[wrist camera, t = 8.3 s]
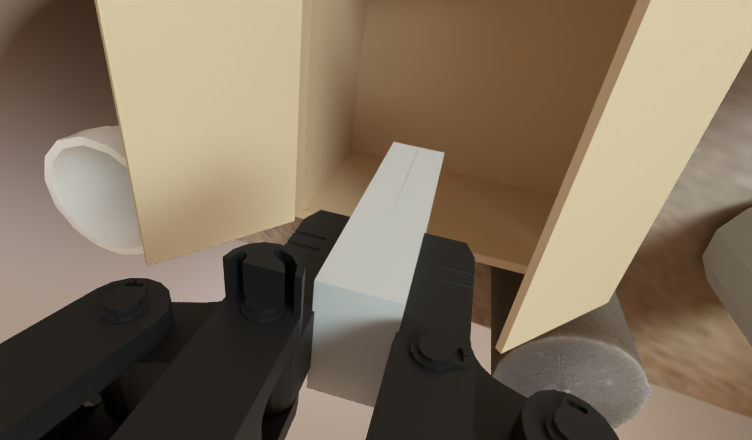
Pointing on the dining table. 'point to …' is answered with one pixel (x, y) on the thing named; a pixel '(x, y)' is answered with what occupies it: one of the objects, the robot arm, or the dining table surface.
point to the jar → (733, 269)
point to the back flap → (205, 116)
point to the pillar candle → (572, 356)
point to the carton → (453, 106)
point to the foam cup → (95, 188)
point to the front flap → (630, 155)
